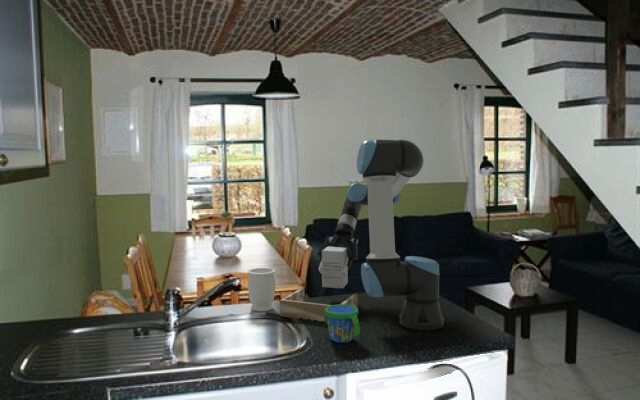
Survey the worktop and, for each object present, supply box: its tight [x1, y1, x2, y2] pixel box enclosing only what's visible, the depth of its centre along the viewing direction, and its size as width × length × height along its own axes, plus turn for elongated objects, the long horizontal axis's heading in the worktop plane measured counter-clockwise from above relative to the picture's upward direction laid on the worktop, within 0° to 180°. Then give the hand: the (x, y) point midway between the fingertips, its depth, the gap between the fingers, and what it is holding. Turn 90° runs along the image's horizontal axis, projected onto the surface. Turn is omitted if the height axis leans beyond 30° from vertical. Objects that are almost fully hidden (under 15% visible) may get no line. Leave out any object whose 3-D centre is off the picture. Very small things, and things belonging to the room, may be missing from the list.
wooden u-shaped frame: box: [279, 287, 358, 323], centre depth 194 cm, size 19×24×6 cm
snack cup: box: [324, 303, 361, 344], centre depth 165 cm, size 16×10×10 cm
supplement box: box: [321, 246, 349, 289], centre depth 208 cm, size 9×9×15 cm
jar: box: [247, 267, 276, 312], centre depth 199 cm, size 11×10×15 cm
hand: (332, 272), depth 206 cm, fingers closed on supplement box, 10 cm apart
